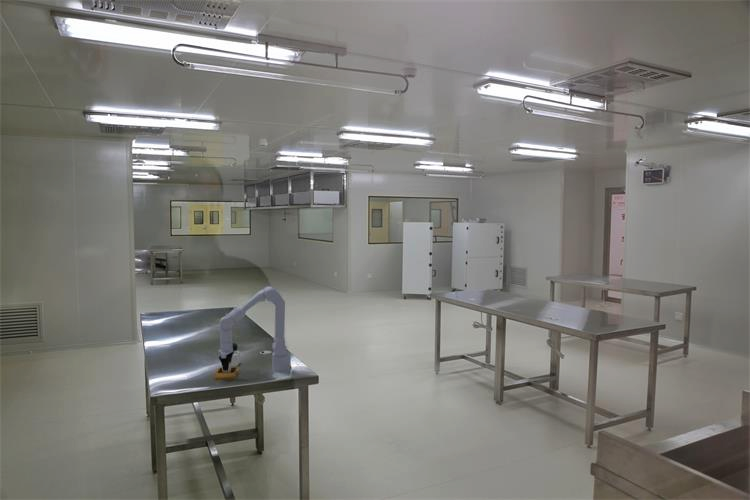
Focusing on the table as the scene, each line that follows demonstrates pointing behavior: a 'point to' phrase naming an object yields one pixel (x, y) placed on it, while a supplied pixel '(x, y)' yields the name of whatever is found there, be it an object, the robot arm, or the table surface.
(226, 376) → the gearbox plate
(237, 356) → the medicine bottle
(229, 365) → the canister
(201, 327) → the table surface
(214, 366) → the table surface
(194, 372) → the table surface
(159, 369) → the table surface
